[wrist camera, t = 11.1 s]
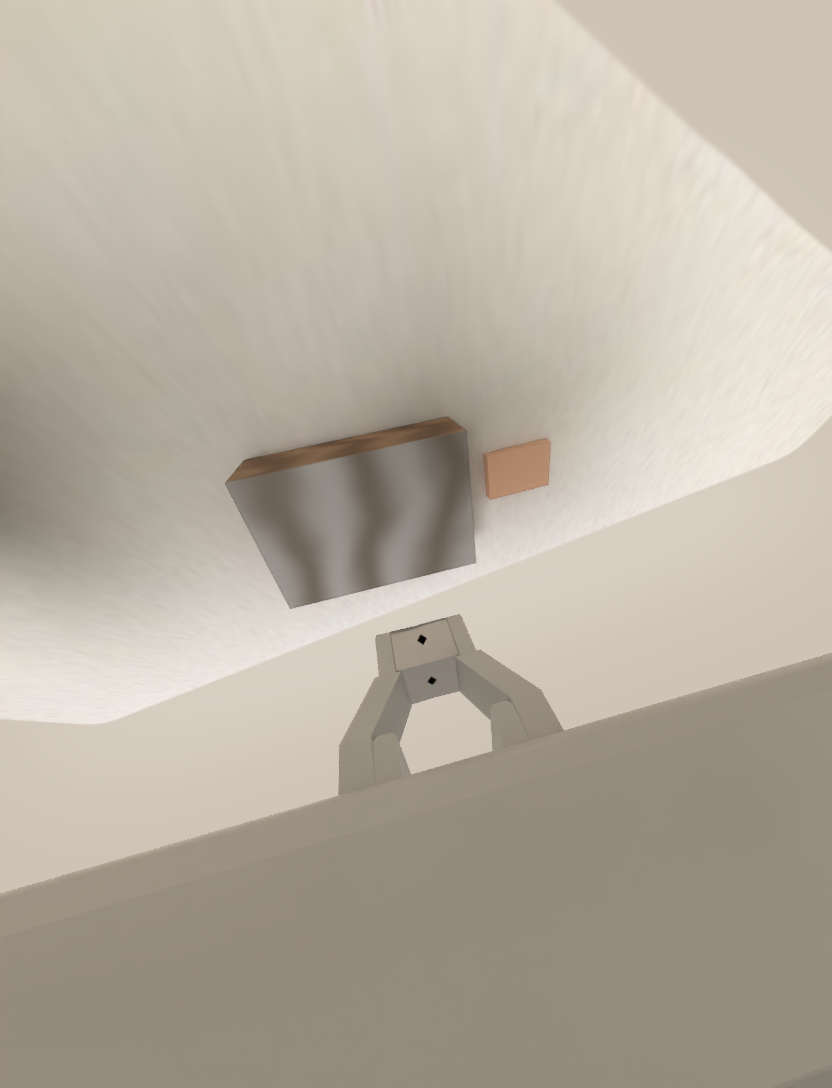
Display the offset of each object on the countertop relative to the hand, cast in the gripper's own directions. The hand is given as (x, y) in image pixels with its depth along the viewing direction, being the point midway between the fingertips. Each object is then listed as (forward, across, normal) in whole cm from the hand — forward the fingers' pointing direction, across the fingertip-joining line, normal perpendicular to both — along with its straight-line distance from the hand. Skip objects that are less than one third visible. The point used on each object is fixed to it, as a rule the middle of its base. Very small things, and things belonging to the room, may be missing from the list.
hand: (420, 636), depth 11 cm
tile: (+24, -15, +6) cm, 29 cm away
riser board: (+25, +2, +6) cm, 26 cm away
